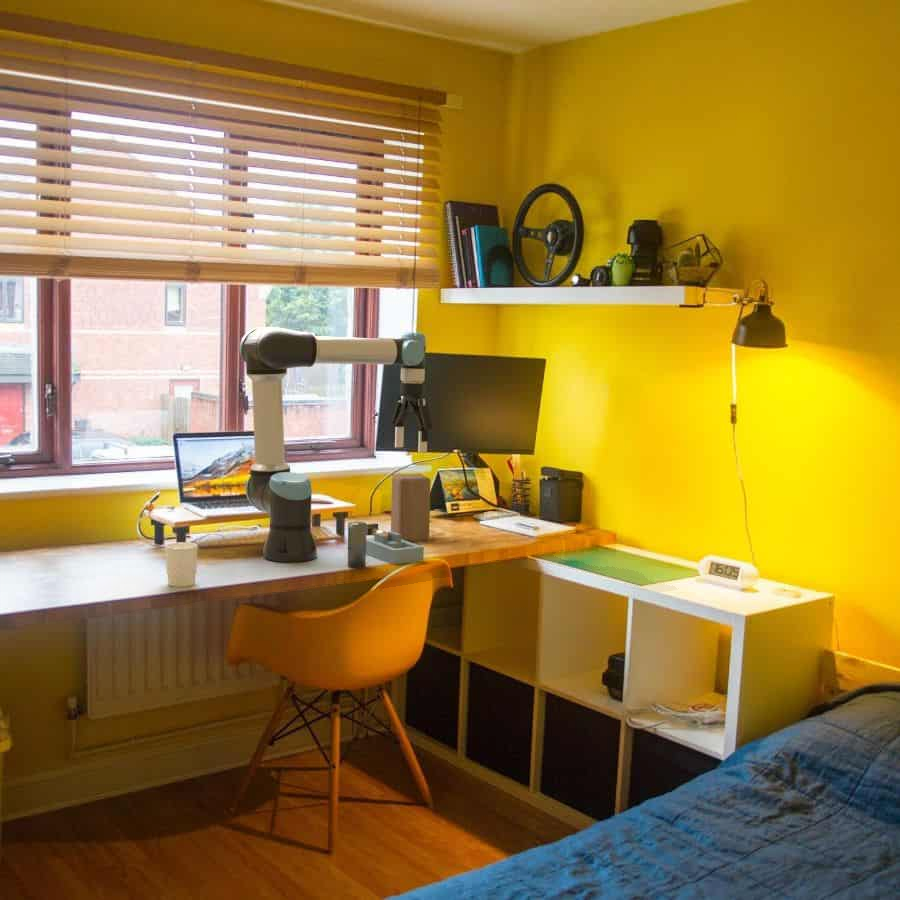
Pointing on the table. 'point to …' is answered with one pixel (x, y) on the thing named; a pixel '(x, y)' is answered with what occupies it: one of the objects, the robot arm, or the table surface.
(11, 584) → the table surface
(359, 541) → the spigot
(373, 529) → the lock pin
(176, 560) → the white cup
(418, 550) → the mount
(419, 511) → the wooden block
